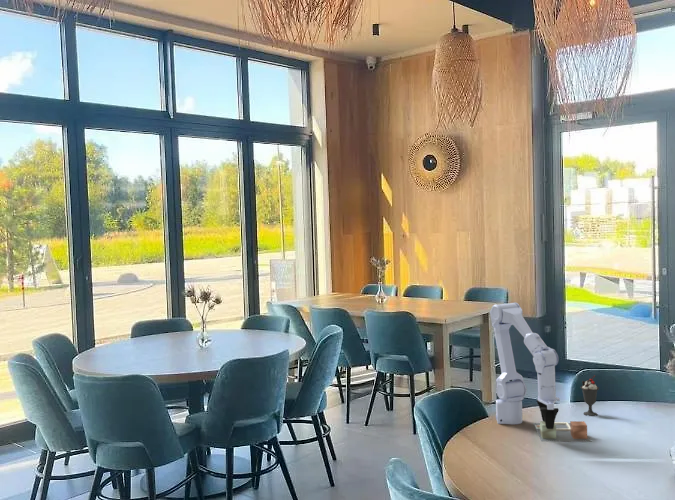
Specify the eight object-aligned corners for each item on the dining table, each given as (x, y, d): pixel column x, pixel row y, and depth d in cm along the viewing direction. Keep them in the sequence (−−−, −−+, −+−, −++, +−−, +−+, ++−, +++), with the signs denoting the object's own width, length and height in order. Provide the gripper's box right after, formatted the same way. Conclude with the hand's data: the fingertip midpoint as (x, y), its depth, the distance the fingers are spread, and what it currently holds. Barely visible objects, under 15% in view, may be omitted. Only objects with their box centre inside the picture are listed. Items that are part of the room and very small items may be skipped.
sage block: (542, 438, 220) (541, 425, 220) (540, 434, 225) (539, 421, 224) (556, 438, 219) (555, 425, 219) (553, 434, 224) (553, 421, 224)
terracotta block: (573, 438, 219) (572, 425, 218) (570, 434, 223) (570, 421, 223) (587, 438, 218) (587, 425, 218) (584, 434, 222) (584, 421, 222)
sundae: (601, 416, 244) (600, 376, 243) (582, 416, 245) (581, 376, 244) (598, 411, 250) (597, 372, 250) (579, 411, 251) (578, 372, 251)
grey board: (541, 443, 218) (541, 439, 218) (532, 425, 237) (532, 421, 237) (591, 444, 215) (591, 439, 215) (579, 425, 235) (578, 421, 235)
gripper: (562, 390, 214) (564, 431, 214) (555, 380, 228) (556, 418, 228) (540, 390, 215) (541, 431, 215) (534, 380, 229) (535, 418, 229)
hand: (548, 425), depth 222 cm, fingers open, 7 cm apart
